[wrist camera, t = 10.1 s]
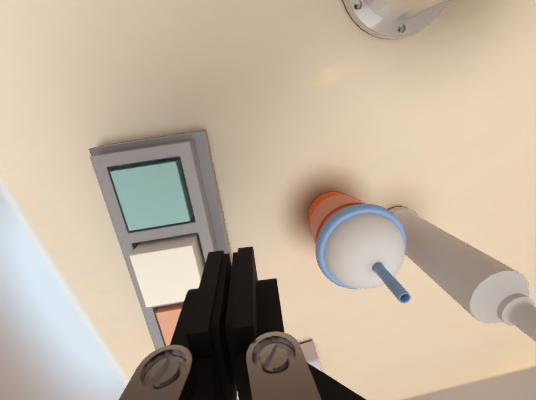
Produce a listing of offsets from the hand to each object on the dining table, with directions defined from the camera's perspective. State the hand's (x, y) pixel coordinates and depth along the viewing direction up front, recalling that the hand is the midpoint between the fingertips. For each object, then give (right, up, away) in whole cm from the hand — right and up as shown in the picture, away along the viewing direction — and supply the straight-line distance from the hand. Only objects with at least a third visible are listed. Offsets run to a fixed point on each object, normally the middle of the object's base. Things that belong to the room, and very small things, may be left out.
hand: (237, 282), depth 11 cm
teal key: (-11, +4, +21) cm, 24 cm away
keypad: (-10, -3, +26) cm, 28 cm away
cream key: (-10, -4, +22) cm, 24 cm away
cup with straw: (+9, +1, +27) cm, 29 cm away
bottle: (+19, 0, +28) cm, 34 cm away
